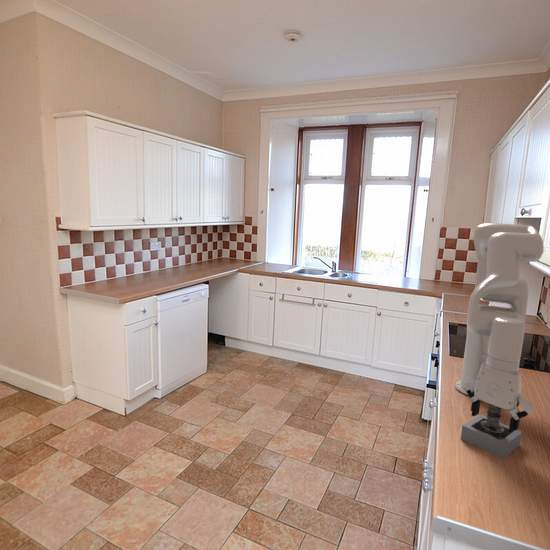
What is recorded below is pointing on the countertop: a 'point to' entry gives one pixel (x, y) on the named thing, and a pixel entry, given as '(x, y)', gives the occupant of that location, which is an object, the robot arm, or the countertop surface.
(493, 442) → the holder
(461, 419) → the countertop surface
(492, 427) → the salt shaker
